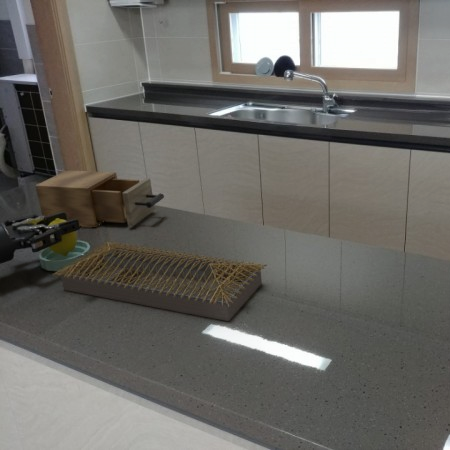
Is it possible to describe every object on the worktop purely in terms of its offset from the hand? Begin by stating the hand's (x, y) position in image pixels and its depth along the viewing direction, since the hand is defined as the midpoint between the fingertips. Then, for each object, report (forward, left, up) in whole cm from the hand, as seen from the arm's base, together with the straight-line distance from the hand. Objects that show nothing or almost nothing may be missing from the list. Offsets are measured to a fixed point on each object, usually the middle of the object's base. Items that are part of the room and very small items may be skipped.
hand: (71, 220), depth 105 cm
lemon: (-1, -2, -7) cm, 7 cm away
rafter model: (+23, -8, -8) cm, 26 cm away
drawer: (0, +20, -7) cm, 21 cm away
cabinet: (-12, +20, -8) cm, 24 cm away
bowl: (-1, -2, -8) cm, 8 cm away
